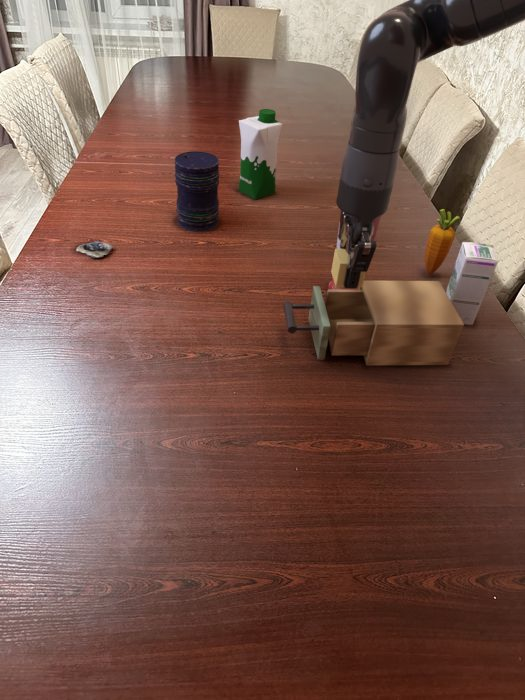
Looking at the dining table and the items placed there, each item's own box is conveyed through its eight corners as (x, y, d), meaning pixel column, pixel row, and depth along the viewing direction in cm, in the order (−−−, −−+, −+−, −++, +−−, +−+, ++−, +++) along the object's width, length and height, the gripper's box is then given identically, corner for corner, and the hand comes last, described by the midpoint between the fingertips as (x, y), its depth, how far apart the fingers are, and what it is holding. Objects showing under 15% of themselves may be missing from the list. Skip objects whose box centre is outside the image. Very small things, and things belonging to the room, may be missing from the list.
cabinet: (366, 365, 90) (377, 324, 84) (351, 320, 99) (360, 280, 93) (447, 365, 91) (464, 324, 85) (425, 320, 100) (439, 280, 94)
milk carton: (280, 193, 138) (287, 115, 125) (254, 202, 134) (258, 121, 120) (258, 182, 143) (262, 105, 130) (232, 190, 138) (234, 110, 125)
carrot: (445, 278, 112) (468, 214, 102) (428, 283, 110) (449, 219, 100) (429, 266, 115) (449, 203, 105) (412, 272, 113) (431, 208, 103)
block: (356, 272, 87) (361, 249, 84) (362, 287, 84) (367, 263, 81) (330, 271, 86) (335, 248, 83) (335, 287, 83) (340, 263, 80)
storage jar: (226, 218, 126) (227, 157, 116) (206, 235, 119) (205, 172, 110) (190, 208, 129) (188, 147, 119) (169, 224, 122) (165, 162, 112)
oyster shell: (104, 262, 109) (103, 254, 108) (68, 255, 110) (67, 248, 108) (117, 246, 114) (116, 238, 113) (83, 240, 115) (82, 232, 113)
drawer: (286, 359, 88) (290, 326, 83) (279, 318, 97) (283, 285, 92) (394, 359, 90) (404, 326, 85) (378, 318, 98) (387, 286, 94)
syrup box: (473, 326, 100) (501, 260, 90) (442, 321, 100) (466, 256, 91) (469, 308, 104) (495, 244, 95) (439, 304, 105) (462, 240, 95)
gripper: (407, 200, 69) (380, 304, 80) (381, 157, 79) (360, 255, 90) (351, 198, 68) (331, 304, 79) (332, 156, 78) (317, 254, 90)
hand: (347, 277), depth 85 cm, fingers closed on block, 4 cm apart
